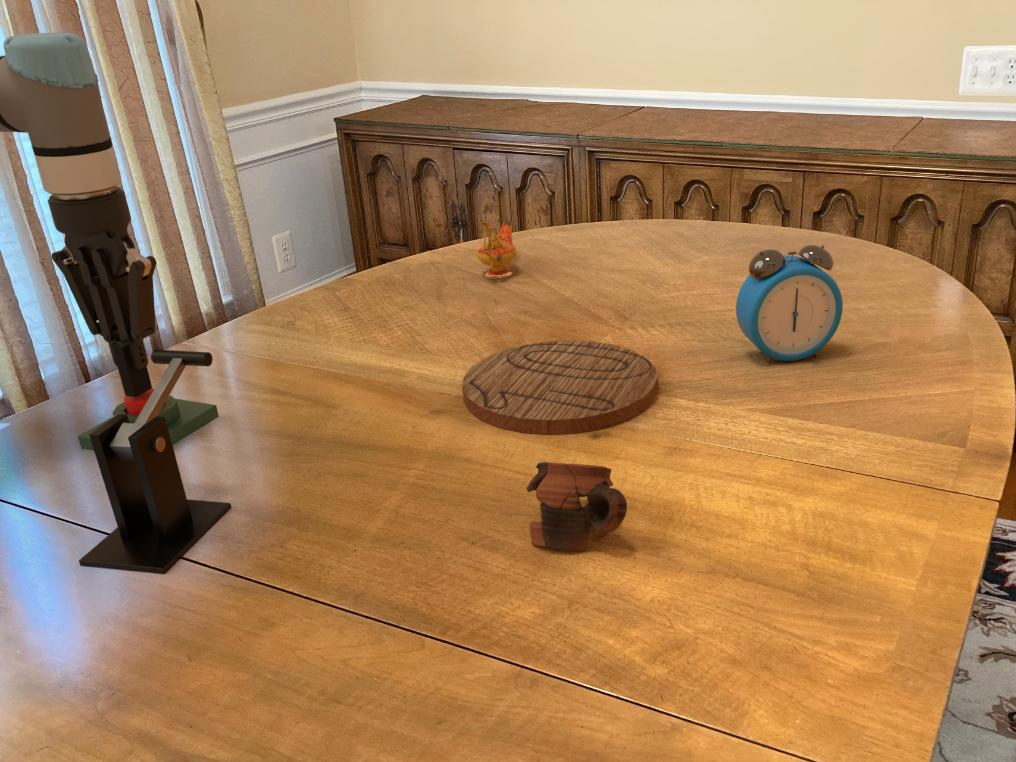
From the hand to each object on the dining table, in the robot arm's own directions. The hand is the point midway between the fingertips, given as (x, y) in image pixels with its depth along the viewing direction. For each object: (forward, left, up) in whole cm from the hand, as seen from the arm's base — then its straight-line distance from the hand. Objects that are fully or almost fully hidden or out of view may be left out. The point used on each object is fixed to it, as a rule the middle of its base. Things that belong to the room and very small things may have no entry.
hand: (138, 391), depth 115 cm
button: (0, 0, -2) cm, 2 cm away
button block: (0, 0, -6) cm, 6 cm away
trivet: (+42, +27, -6) cm, 51 cm away
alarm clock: (+67, +47, -6) cm, 82 cm away
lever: (+17, -13, +6) cm, 22 cm away
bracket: (+18, -18, -6) cm, 26 cm away
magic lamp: (+12, +70, -6) cm, 71 cm away
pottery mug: (+57, -3, -6) cm, 58 cm away
